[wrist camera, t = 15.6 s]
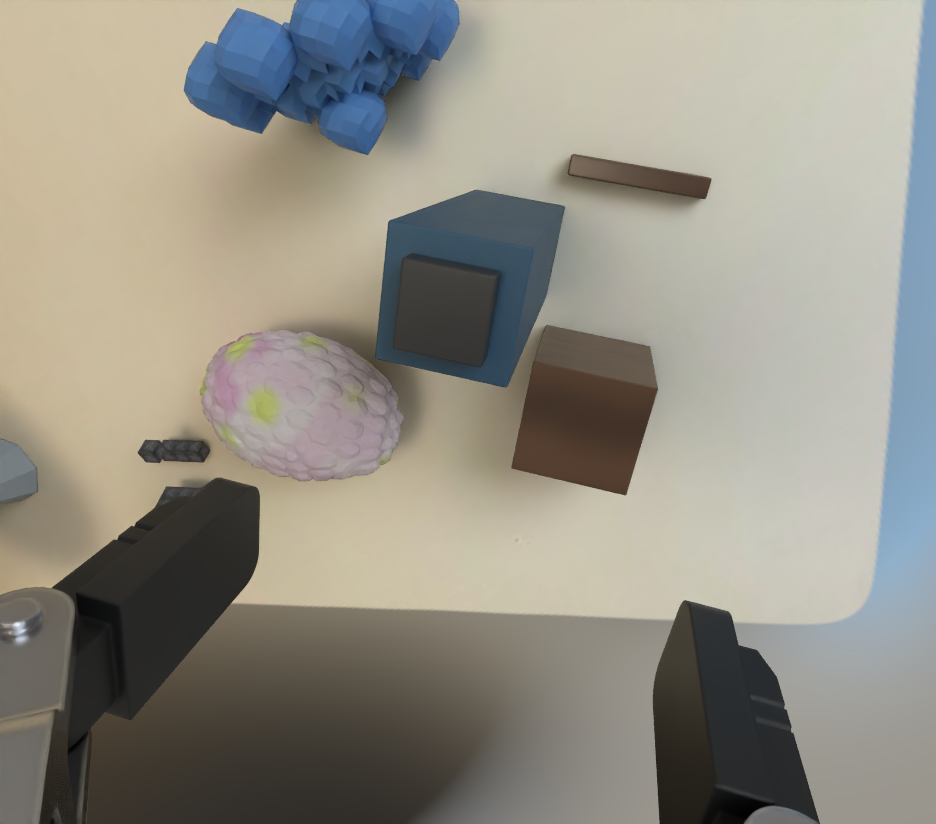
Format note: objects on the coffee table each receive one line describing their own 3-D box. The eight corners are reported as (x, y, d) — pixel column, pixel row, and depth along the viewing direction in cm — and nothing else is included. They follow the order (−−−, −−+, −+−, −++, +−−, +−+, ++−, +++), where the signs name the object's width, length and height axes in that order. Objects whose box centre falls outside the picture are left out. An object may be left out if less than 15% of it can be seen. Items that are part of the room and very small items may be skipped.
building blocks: (168, 547, 46) (104, 485, 40) (199, 484, 50) (145, 418, 44) (207, 550, 45) (148, 487, 39) (237, 486, 49) (187, 419, 43)
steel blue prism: (502, 471, 33) (508, 343, 20) (409, 449, 33) (354, 310, 20) (558, 245, 38) (594, 21, 24) (476, 230, 38) (467, 2, 25)
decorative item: (416, 499, 38) (252, 507, 31) (323, 466, 46) (177, 466, 39) (434, 346, 37) (271, 321, 30) (337, 340, 45) (192, 318, 39)
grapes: (314, 191, 37) (190, 213, 26) (262, 68, 35) (104, 35, 24) (503, 110, 33) (450, 96, 22) (457, -33, 31) (375, -125, 20)
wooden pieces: (632, 441, 39) (635, 498, 32) (518, 415, 40) (501, 466, 33) (709, 177, 32) (732, 185, 26) (572, 153, 33) (563, 156, 27)
